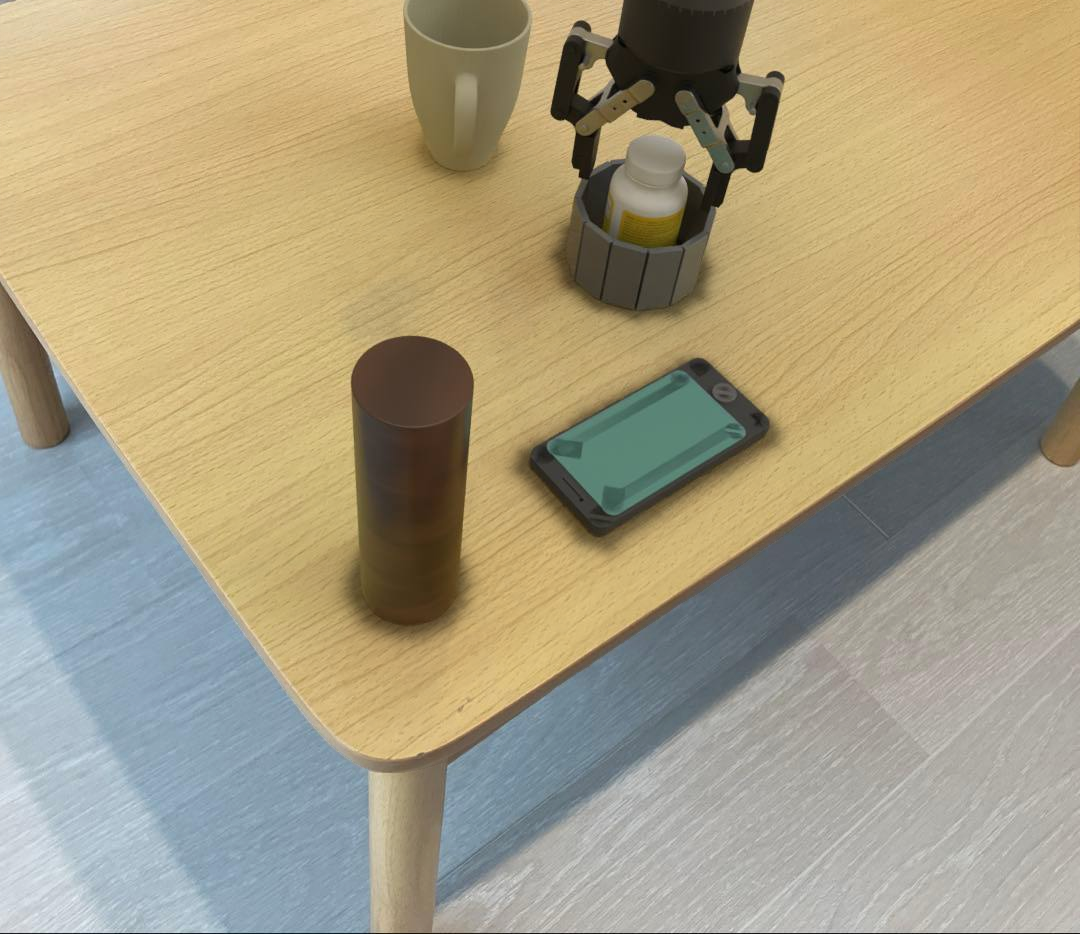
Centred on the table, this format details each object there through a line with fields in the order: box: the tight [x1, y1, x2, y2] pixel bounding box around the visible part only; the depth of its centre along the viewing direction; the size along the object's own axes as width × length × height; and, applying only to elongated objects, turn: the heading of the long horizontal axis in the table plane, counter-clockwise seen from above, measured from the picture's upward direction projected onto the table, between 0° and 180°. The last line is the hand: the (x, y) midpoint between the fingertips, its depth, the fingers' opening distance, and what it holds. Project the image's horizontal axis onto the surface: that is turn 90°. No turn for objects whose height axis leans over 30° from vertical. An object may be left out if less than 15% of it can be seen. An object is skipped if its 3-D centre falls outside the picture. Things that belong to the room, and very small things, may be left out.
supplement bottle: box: [601, 134, 688, 249], centre depth 82 cm, size 5×5×10 cm
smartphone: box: [528, 357, 771, 537], centre depth 75 cm, size 7×1×15 cm
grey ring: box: [565, 158, 717, 312], centre depth 84 cm, size 10×10×6 cm
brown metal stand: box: [350, 335, 475, 626], centre depth 61 cm, size 6×6×18 cm
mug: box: [402, 0, 533, 172], centre depth 86 cm, size 11×10×12 cm
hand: (646, 188), depth 81 cm, fingers open, 8 cm apart
